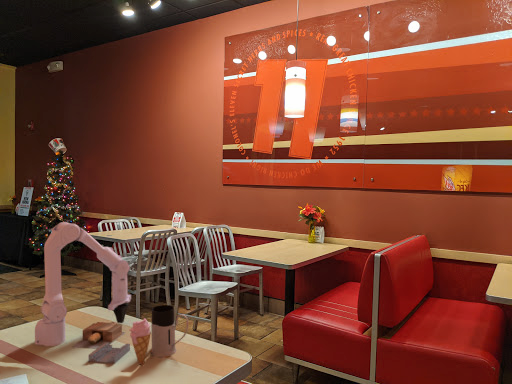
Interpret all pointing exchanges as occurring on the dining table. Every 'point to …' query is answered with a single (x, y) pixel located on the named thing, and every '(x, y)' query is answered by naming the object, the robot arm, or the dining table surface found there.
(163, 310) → the glass holder
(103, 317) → the dining table surface
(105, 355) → the v block
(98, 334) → the axle
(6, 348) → the dining table surface
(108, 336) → the bridge block
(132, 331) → the ice cream cone
